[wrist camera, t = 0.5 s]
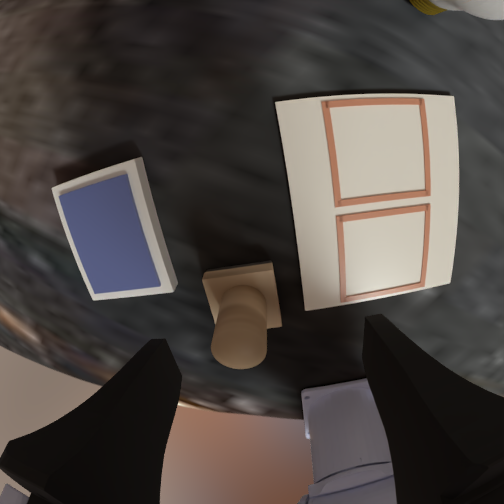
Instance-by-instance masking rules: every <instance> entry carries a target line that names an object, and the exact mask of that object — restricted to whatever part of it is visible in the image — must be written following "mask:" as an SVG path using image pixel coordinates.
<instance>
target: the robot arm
mask: <svg viewBox="0 0 504 504" xmlns="http://www.w3.org/2000/svg"><path fill="white" fill-rule="evenodd" d="M362 360H363V364H364V369H365V373H366V377H367V378H365V379H360V380H355V381H350V382H345V383H339V384H334V385H328V386H322V387H315V388H308V389H304V390H302V391H301V396H302V405H303V414H304V423H305V433H306V438H307V439H310V443H311V453H312V463H313V464H312V465H313V476H314V484H312V485H309V486H308V490H309V494H308V495H304V496H302V498H301V499H300V501H299V502H298V503H297V504H504V397H501V396H499V395H496V394H494V393H492V392H489V391H487V390H485V389H483V388H481V387H479V386H477V385H475V384H473V383H471V382H469V381H467V380H466V379H464V378H462V377H461V376H459V375H457V374H456V373H454V372H453V371H451V370H449V369H448V368H446V367H445V366H443V365H442V364H441V363H439V362H438V361H437V360H435V359H434V358H433V357H431V356H430V355H429V354H427V353H426V352H425V351H423V350H422V349H421V348H420V347H419V346H418V345H416V344H415V343H414V342H413V341H412V340H410V339H409V338H408V337H407V336H406V335H405V334H404V333H402V332H401V331H400V330H399V329H398V328H397V327H396V326H395V325H394V324H393V323H391V322H390V321H389V320H388V319H387V318H386V317H385V316H384V315H382V314H377V315H372V316H366V317H365V328H364V341H363V353H362ZM181 381H182V375H181V372H180V370H179V368H178V366H177V364H176V362H175V359H174V357H173V355H172V353H171V350H170V348H169V346H168V343H167V341H166V339H151V340H150V341H149V342H148V343H147V344H145V345H144V346H143V347H142V348H141V349H140V350H139V351H138V352H137V353H136V354H135V355H134V356H133V357H132V358H131V359H130V361H129V362H128V363H127V364H126V365H125V366H124V367H123V368H122V369H121V370H120V371H119V372H118V373H117V374H116V375H114V376H113V377H112V378H111V379H110V380H109V381H108V382H107V383H106V384H105V385H104V386H103V387H101V388H100V389H99V390H98V391H97V392H96V393H95V394H94V395H92V396H91V397H90V398H89V399H87V400H86V401H85V402H83V403H82V404H81V405H79V406H78V407H77V408H75V409H74V410H72V411H71V412H69V413H68V414H66V415H64V416H63V417H61V418H60V419H58V420H56V421H55V422H53V423H51V424H49V425H47V426H45V427H43V428H41V429H39V430H37V431H35V432H33V433H30V434H28V435H25V436H22V437H19V438H17V439H14V440H11V441H9V442H8V444H7V446H6V448H5V450H4V452H3V454H2V455H1V457H0V469H1V470H2V471H3V472H5V473H6V474H7V475H8V476H10V477H11V478H12V479H13V480H14V481H16V482H17V483H18V484H20V485H21V486H22V487H24V488H25V489H27V490H28V491H29V492H31V495H30V497H28V496H26V495H25V494H23V493H21V492H20V491H18V490H16V489H15V488H13V487H12V486H10V485H8V484H6V485H5V487H4V489H3V491H2V494H1V496H0V504H160V486H161V474H162V467H163V459H164V453H165V449H166V444H167V440H168V437H169V434H170V430H171V426H172V423H173V419H174V416H175V412H176V408H177V405H178V401H179V396H180V389H181Z"/></svg>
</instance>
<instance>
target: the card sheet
mask: <svg viewBox="0 0 504 504" xmlns="http://www.w3.org/2000/svg"><path fill="white" fill-rule="evenodd" d="M275 105H276V111H277V116H278V122H279V128H280V133H281V139H282V145H283V151H284V157H285V163H286V169H287V176H288V182H289V189H290V196H291V202H292V209H293V217H294V224H295V231H296V239H297V246H298V254H299V262H300V271H301V279H302V288H303V297H304V307H305V311H309V310H315V309H322V308H328V307H334V306H340V305H346V304H352V303H357V302H363V301H368V300H374V299H379V298H384V297H389V296H394V295H399V294H404V293H409V292H413V291H418V290H422V289H427V288H431V287H436V286H440V285H444V284H448V283H450V281H451V274H452V268H453V260H454V252H455V243H456V233H457V221H458V203H459V151H458V134H457V121H456V112H455V103H454V96H443V95H426V94H355V95H337V96H324V97H313V98H304V99H295V100H287V101H280V102H275Z"/></svg>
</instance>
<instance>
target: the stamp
mask: <svg viewBox="0 0 504 504" xmlns="http://www.w3.org/2000/svg"><path fill="white" fill-rule="evenodd" d="M202 281H203V285H204V288H205V292H206V295H207V298H208V302H209V305H210V308H211V311H212V315H213V318H214V321H215V324H216V325H215V330H214V335H213V339H212V344H211V351H212V354H213V356H214V357H215V359H216V360H217V361H218V362H220V363H221V364H223V365H225V366H227V367H230V368H234V369H248V368H252V367H254V366H256V365H258V364H260V363H261V362H262V361H263V360H264V358H265V356H266V353H267V329H268V328H276V327H282V320H281V313H280V306H279V300H278V294H277V288H276V282H275V276H274V270H273V264H272V260H271V261H264V262H257V263H250V264H243V265H236V266H229V267H222V268H215V269H208V270H206V272H205V273H204V276H203V278H202Z"/></svg>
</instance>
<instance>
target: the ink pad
mask: <svg viewBox="0 0 504 504" xmlns="http://www.w3.org/2000/svg"><path fill="white" fill-rule="evenodd" d="M52 192H53V195H54V199H55V202H56V205H57V208H58V212H59V215H60V218H61V221H62V224H63V227H64V230H65V233H66V235H67V238H68V241H69V244H70V246H71V249H72V252H73V254H74V257H75V259H76V262H77V264H78V267H79V269H80V272H81V274H82V276H83V279H84V281H85V283H86V286H87V288H88V290H89V292H90V295H91V297H92V299H93V300H103V299H113V298H123V297H133V296H142V295H151V294H160V293H169V292H174V290H175V288H176V286H177V284H178V281H177V278H176V275H175V272H174V269H173V266H172V263H171V259H170V256H169V253H168V250H167V246H166V243H165V240H164V237H163V233H162V230H161V226H160V223H159V219H158V216H157V212H156V209H155V205H154V201H153V198H152V194H151V190H150V186H149V182H148V179H147V175H146V171H145V167H144V162H143V158H142V157H139V158H136V159H132V160H129V161H126V162H123V163H119V164H116V165H113V166H110V167H107V168H104V169H101V170H98V171H95V172H92V173H89V174H86V175H84V176H81V177H78V178H75V179H73V180H70V181H67V182H65V183H62V184H60V185H57V186H55V187H53V188H52Z"/></svg>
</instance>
